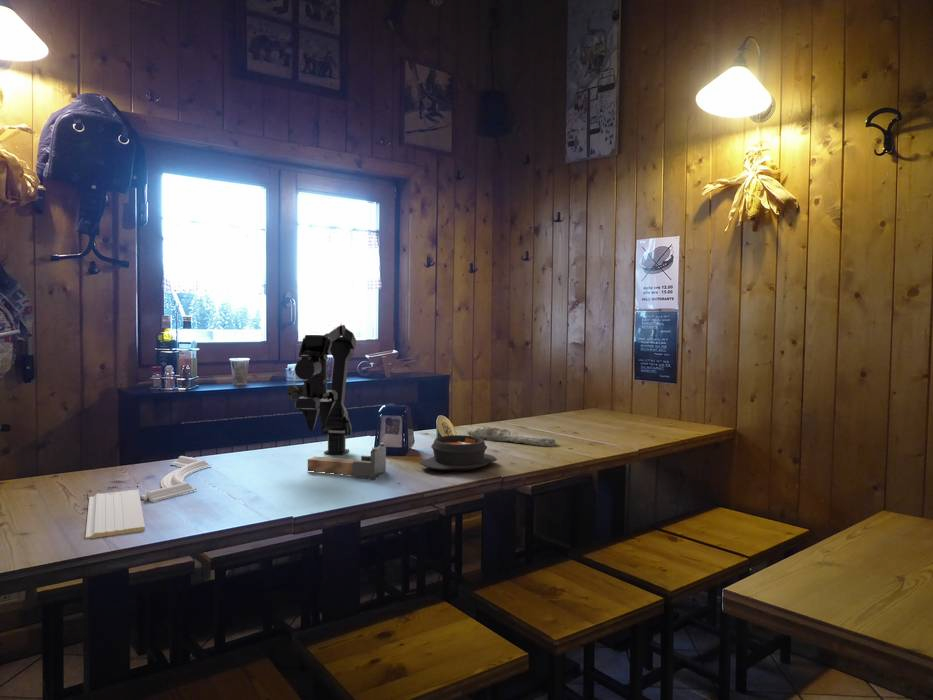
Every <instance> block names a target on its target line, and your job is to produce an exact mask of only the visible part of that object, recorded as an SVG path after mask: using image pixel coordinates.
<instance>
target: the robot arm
mask: <svg viewBox="0 0 933 700" xmlns="http://www.w3.org/2000/svg"><path fill="white" fill-rule="evenodd" d="M356 348H357V339H356V337H355V334H354V332H352V331H350V330H349V329H348V328H346V326H345V324H343V323H330V324H328V325H327V326H326V327H324V328H323V329H321V330H320V331H319V332H308V333H306V334H305V335H304V336H303V338H302V342H301V345H300V349H299V353H298V357H299V358H301V359H299V360H298V361H297V362H296V364H295V366H294V372H295V375H296V376H297V377H298V378H299V379H301V380H303V384H302V385H301V384H300V385H298V386H297V384H295V383H294V384H292V385H289V386H287V389H286V396H288V397H289V398H290V401H292V400H294V408H295V409H297V411H300V412H301V413H302V414H303V416H304V419H305V421H306V424H307V428H308V430H309V431H310V432H312V431H314V429H315V426H316V424H317V420H318V416H319V419H320V428H321V434H322V435H324V436H325V435H327V450H325V451H323V454H324V453H328V455H339V454H343V455H344V454H346V453H348V452H350V449H348V448H346V441H347V440H346V439H347V438H346V437H347V436H349V435H352V430H353V429H352V424H351V422H350V421H351V420H350V418H349V411H348V410H347V408H346V406H345V397H346V396H345V395H346V388H347V387H346V385H347V378H348V377H347V376H348V366H349V361H350V360H351V359H352V358H353V357H354V354H355V349H356ZM329 353H330V354H331V356H332V358H333V365H332V367H333V368H332V376H331V377H332V378H331V383H330V378H328V358H329V357H328V355H329ZM328 383H330V384H331V386H330V389H328Z"/></svg>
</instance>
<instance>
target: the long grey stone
mask: <svg viewBox="0 0 933 700" xmlns="http://www.w3.org/2000/svg"><path fill="white" fill-rule="evenodd" d="M466 432H467V433H466V434H467V436H474V437H478V438H481V439H483V440H486V441H492V442H495V441H496V442H497V441H498V442H503V443H504V442H511V443H514V444H525V445H530V446H537V447H539V446H543V447H554V446H556V439H555V438H553V437H549V436H546V435H537V434H531V433H530V434H529V433H519V432H516V431H512V430H509V429H507V428H505V427H501V428H497V427H491V426H485V425H484V426H481V427H474V428H468V429H467V431H466Z"/></svg>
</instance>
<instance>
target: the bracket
mask: <svg viewBox="0 0 933 700" xmlns="http://www.w3.org/2000/svg"><path fill="white" fill-rule="evenodd" d="M360 458H361V459H360V460H362V461H353V476H352V478H353V477H356V478H355V479H365V478H370V479H372V480H371V481H375V480H377V479H378V478H379V477H381V476H382V475H383V474H384V473H385V472H387V471H386V470H387V464H386V463H387V460H386V458H387V444H386V442H380V443H379V445H378V446H377V447H376V446H375V447H371V451H370V455H362V456H360ZM366 461H371V462H366ZM380 475H381V476H380ZM376 478H377V479H376ZM370 479H369V480H370Z"/></svg>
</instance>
